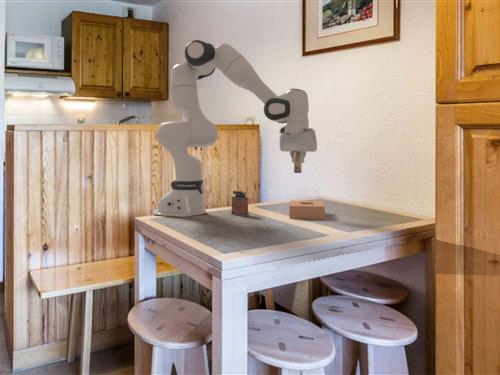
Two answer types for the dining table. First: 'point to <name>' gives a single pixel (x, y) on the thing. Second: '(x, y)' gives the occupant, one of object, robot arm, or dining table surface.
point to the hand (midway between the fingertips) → (297, 162)
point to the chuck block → (307, 209)
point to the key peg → (297, 162)
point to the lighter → (239, 203)
